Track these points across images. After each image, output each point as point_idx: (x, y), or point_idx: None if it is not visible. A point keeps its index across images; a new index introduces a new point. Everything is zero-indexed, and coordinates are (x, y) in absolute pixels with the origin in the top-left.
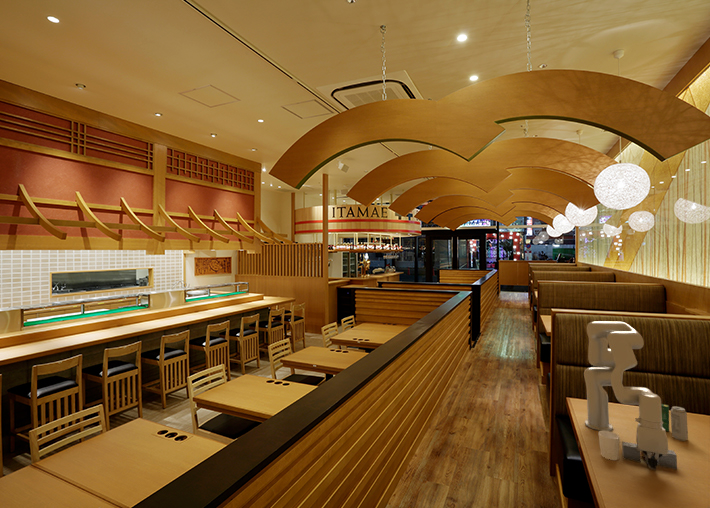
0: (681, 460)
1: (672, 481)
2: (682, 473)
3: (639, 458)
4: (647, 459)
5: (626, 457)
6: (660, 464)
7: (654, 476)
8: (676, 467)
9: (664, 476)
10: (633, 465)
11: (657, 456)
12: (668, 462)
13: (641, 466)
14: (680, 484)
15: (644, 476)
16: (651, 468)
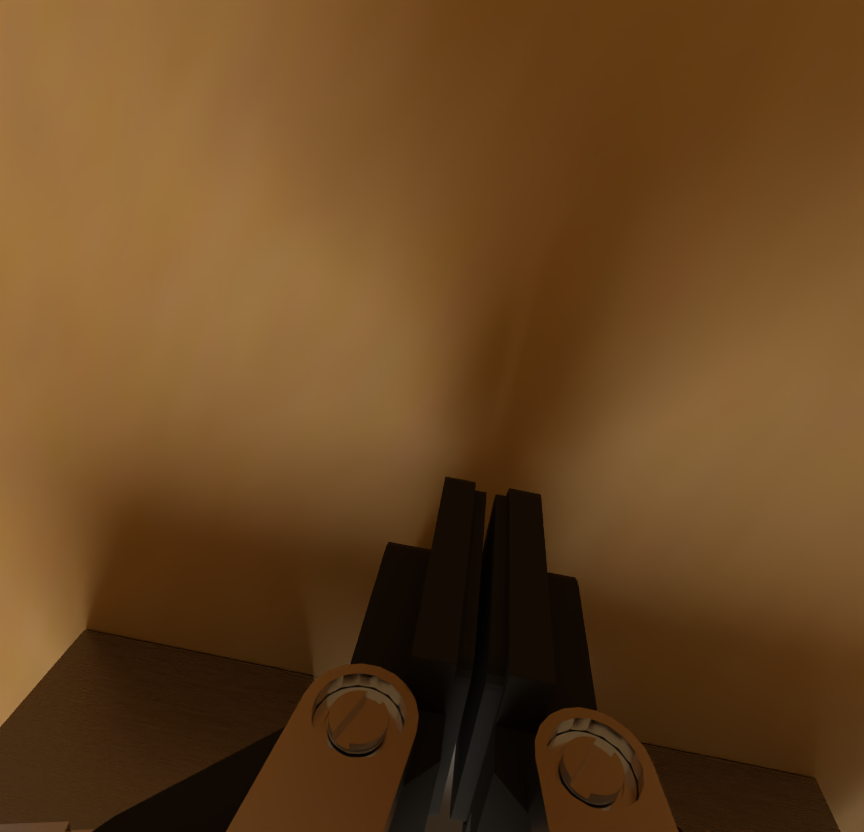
0: None
1: (236, 166)
2: (29, 534)
3: None
4: None
5: (787, 804)
6: (285, 695)
7: (548, 280)
8: (72, 653)
9: (337, 346)
10: (770, 613)
11: (305, 780)
12: (140, 728)
13: (626, 608)
14: (104, 72)
15: (806, 201)
16: None
